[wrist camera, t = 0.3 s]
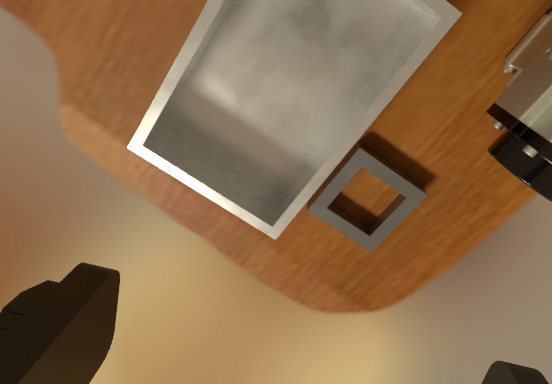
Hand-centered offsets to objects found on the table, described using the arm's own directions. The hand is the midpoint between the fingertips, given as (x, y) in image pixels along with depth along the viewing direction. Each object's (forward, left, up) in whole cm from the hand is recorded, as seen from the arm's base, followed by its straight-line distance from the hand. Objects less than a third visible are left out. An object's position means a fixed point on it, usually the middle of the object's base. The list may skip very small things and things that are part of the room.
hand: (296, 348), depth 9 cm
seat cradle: (0, -2, -22) cm, 22 cm away
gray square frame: (+4, +8, -22) cm, 24 cm away
